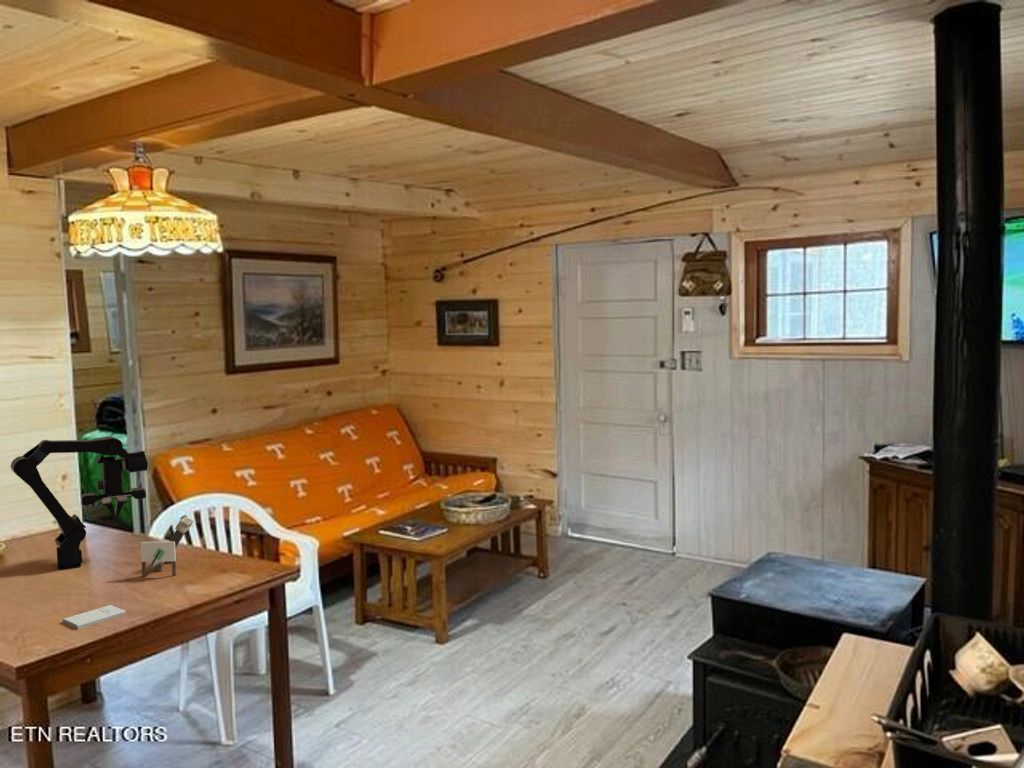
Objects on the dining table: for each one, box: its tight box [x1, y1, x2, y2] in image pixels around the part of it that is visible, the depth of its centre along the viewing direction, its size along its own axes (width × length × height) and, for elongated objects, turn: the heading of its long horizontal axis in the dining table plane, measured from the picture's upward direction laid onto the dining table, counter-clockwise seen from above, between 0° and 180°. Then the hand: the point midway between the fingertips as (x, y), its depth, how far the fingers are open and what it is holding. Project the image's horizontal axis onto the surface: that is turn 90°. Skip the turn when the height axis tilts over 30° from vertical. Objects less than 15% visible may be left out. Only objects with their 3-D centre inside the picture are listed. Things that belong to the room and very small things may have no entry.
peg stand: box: [141, 561, 177, 577], centre depth 249 cm, size 10×14×4 cm
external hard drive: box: [62, 604, 127, 630], centre depth 208 cm, size 2×8×12 cm
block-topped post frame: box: [146, 516, 194, 571], centre depth 248 cm, size 3×14×14 cm
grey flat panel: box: [140, 541, 176, 563], centre depth 242 cm, size 10×1×6 cm, turn 91°
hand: (115, 521), depth 260 cm, fingers closed
